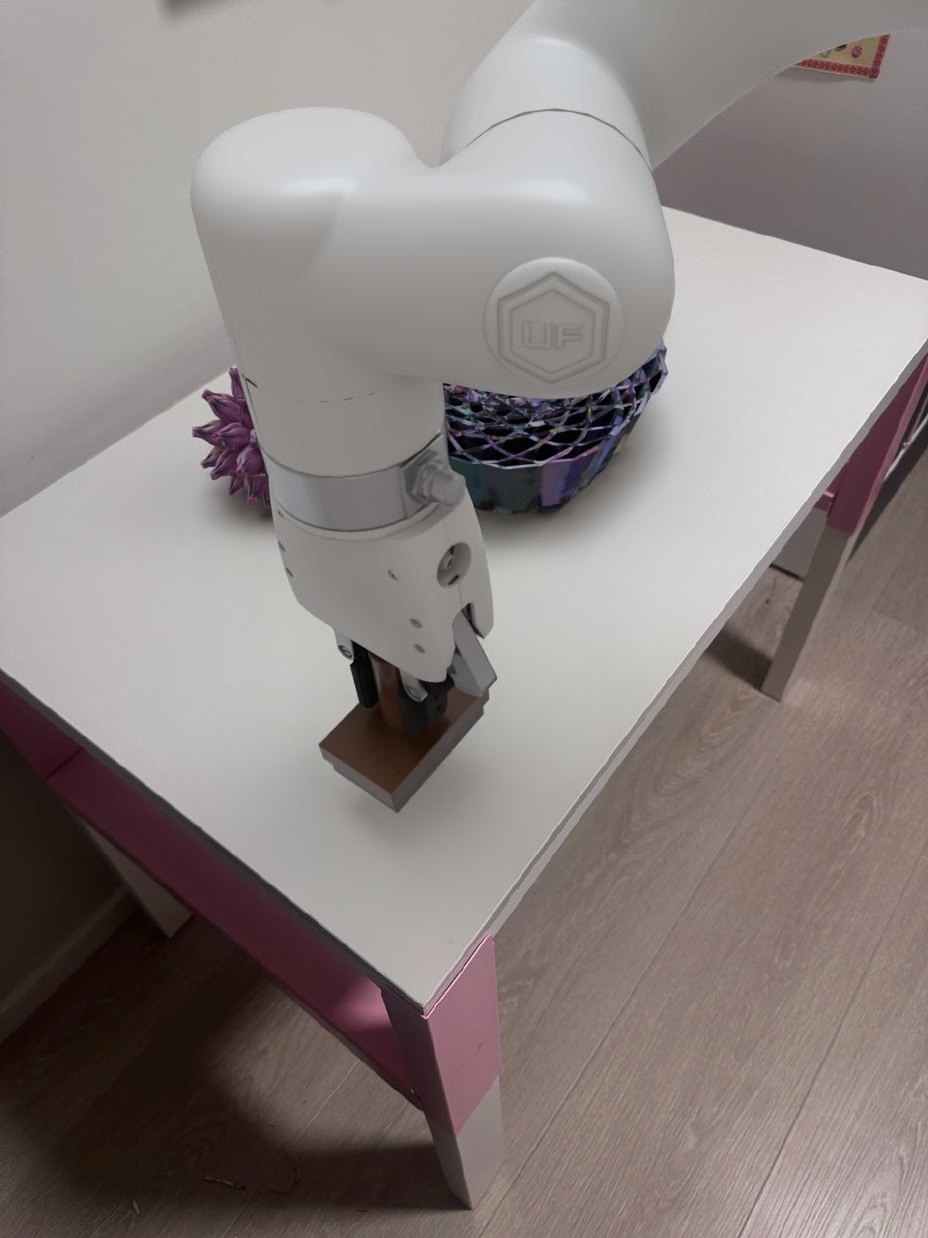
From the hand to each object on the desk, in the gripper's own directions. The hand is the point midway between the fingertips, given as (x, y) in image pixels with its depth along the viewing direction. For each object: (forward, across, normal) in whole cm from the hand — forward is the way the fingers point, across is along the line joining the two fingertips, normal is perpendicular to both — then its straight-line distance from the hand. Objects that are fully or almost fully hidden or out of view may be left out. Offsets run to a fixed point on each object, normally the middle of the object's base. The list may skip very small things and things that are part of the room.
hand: (403, 702), depth 50 cm
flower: (+9, +28, -15) cm, 33 cm away
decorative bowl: (+9, +16, -32) cm, 37 cm away
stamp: (+4, 0, 0) cm, 4 cm away
